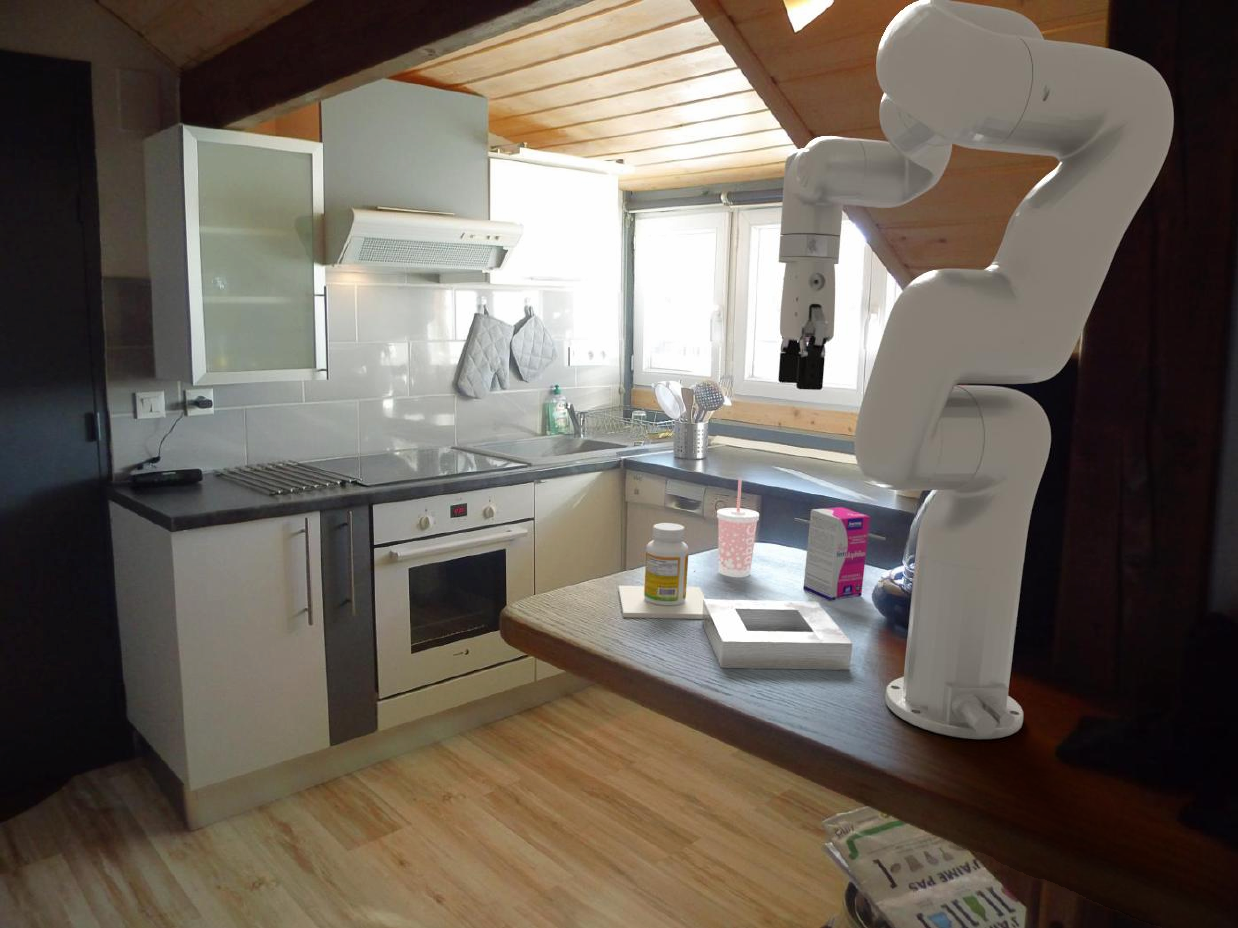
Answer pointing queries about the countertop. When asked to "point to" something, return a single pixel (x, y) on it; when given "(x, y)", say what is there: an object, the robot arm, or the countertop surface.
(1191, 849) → the countertop surface
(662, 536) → the supplement bottle
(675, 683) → the countertop surface
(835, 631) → the concrete holder
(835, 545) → the supplement box
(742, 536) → the beverage cup
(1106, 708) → the countertop surface
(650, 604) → the plastic mat
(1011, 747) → the countertop surface
